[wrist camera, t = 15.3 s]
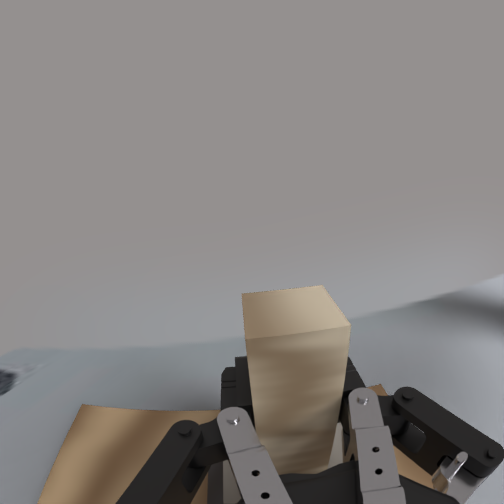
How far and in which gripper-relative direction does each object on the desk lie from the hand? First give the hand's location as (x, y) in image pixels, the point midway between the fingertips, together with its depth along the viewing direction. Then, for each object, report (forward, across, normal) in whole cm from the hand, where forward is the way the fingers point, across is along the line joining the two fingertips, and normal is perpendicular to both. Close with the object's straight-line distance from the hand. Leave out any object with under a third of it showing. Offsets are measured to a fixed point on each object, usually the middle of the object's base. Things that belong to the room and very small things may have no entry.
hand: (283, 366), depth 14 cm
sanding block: (-2, 0, +8) cm, 8 cm away
